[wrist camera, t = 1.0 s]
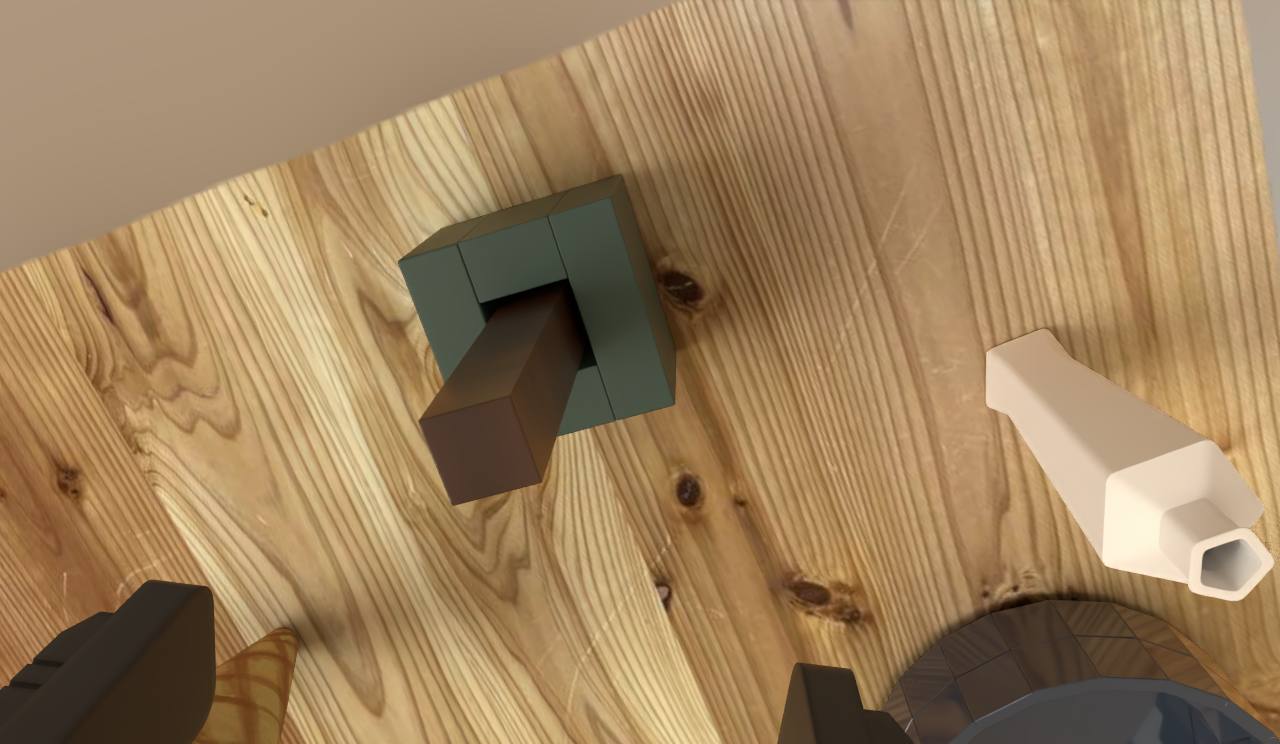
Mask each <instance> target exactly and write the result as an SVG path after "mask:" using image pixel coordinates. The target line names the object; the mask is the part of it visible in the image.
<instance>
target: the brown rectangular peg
mask: <svg viewBox="0 0 1280 744" xmlns="http://www.w3.org/2000/svg"><path fill="white" fill-rule="evenodd" d="M587 340H588V335H587V332H586V329H585V326H584V323H583V320H582V317H581V314H580V311H579V308H578V305H577V302H576V299H575V296H574V293H573V290H572V287H571V284H570V281H569V278H566V279H563V280H560V281H556V282H553V283H549V284H546V285H542V286H539V287H535V288H532V289H529V290H525V291H522V292H518V293H515V294H511V295H508V296H506V297H505V299H504V300H503V301H502V303H501V304H500V306H499V307H498V309H497V310H496V311H495V313H494V314H493V316H492V317H491V318H490V320H489V321H488V323H487V324H486V326H485V327H484V328H483V330H482V331H481V333H480V334H479V336H478V337H477V338H476V340H475V341H474V343H473V344H472V346H471V347H470V348H469V350H468V351H467V353H466V354H465V355H464V357H463V358H462V360H461V361H460V363H459V364H458V365H457V367H456V368H455V370H454V371H453V373H452V374H451V375H450V377H449V378H448V380H447V381H446V382H445V384H444V385H443V387H442V388H441V390H440V391H439V392H438V394H437V395H436V397H435V398H434V400H433V401H432V402H431V404H430V405H429V407H428V408H427V409H426V411H425V412H424V414H423V415H422V417H421V418H420V419H419V425H420V427H421V430H422V432H423V435H424V437H425V439H426V442H427V444H428V447H429V449H430V452H431V454H432V457H433V459H434V462H435V464H436V467H437V469H438V472H439V474H440V477H441V479H442V482H443V484H444V487H445V489H446V491H447V494H448V496H449V499H450V501H451V504H452V506H454V505H458V504H462V503H466V502H470V501H474V500H477V499H481V498H485V497H489V496H493V495H497V494H500V493H504V492H508V491H512V490H516V489H519V488H523V487H527V486H531V485H535V484H539V483H541V482H542V480H543V477H544V474H545V471H546V468H547V465H548V462H549V459H550V456H551V452H552V449H553V446H554V443H555V440H556V437H557V434H558V431H559V428H560V424H561V421H562V418H563V415H564V412H565V409H566V406H567V403H568V400H569V396H570V393H571V390H572V387H573V384H574V381H575V378H576V375H577V372H578V368H579V365H580V362H581V359H582V356H583V353H584V350H585V347H586V344H587Z"/></svg>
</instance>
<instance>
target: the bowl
mask: <svg viewBox="0 0 1280 744" xmlns="http://www.w3.org/2000/svg"><path fill="white" fill-rule="evenodd" d="M882 712H889V714H890V715H891V716H892V717H893V718H894V719H895V721H896V722H897V723H898V724H899V725H900V727H901V728H902V729H903V730H904V731H905V732H906V734H907V735H908V736H909V737H910V738H911V739H912V741H913V743H914V744H1280V741H1279V739H1278V737H1277V736H1276V734H1275V733H1274V732H1273V731H1272V730H1271V728H1270V727H1269V726H1268V725H1267V724H1266V723H1265V721H1264V720H1263V719H1262V718H1261V717H1260V716H1259V714H1258V713H1257V712H1256V711H1255V710H1254V709H1253V708H1252V706H1251V705H1250V704H1249V703H1248V702H1247V701H1246V699H1245V698H1244V697H1243V696H1242V695H1241V694H1240V693H1239V691H1238V690H1237V689H1236V688H1235V687H1234V685H1233V684H1232V683H1231V682H1230V681H1229V680H1228V678H1227V677H1226V676H1225V675H1224V674H1223V673H1222V672H1221V670H1220V669H1219V668H1218V667H1217V666H1216V665H1215V663H1214V662H1213V661H1212V660H1211V659H1210V658H1209V656H1208V655H1207V654H1206V653H1205V652H1204V651H1203V650H1202V649H1200V648H1199V647H1198V646H1197V645H1195V644H1194V643H1193V642H1191V641H1190V640H1189V639H1187V638H1186V637H1185V636H1183V635H1182V634H1181V633H1179V632H1178V631H1177V630H1176V629H1174V628H1173V627H1172V626H1170V625H1169V624H1168V623H1166V622H1165V621H1163V620H1162V619H1159V618H1156V617H1153V616H1150V615H1147V614H1144V613H1141V612H1138V611H1135V610H1132V609H1129V608H1126V607H1123V606H1120V605H1117V604H1114V603H1111V602H1094V601H1069V600H1050V601H1049V600H1046V601H1042V602H1038V603H1033V604H1029V605H1024V606H1020V607H1016V608H1011V609H1007V610H1002V611H998V612H993V613H991V614H990V613H989V614H987V615H985V616H983V617H982V618H980V619H978V620H976V621H974V622H972V623H970V624H968V625H966V626H964V627H963V628H961V629H959V630H957V631H955V632H953V633H951V634H949V635H947V636H945V637H944V638H942V639H940V640H939V641H938V642H936V643H935V644H934V645H933V646H932V647H931V648H930V649H929V650H928V651H927V652H926V653H925V654H924V655H923V656H922V657H921V658H920V659H919V660H918V661H917V662H916V663H915V664H914V665H913V666H911V667H910V668H909V669H908V670H907V671H906V672H905V673H904V674H903V675H902V676H901V677H900V679H899V680H898V681H897V683H896V685H895V687H894V689H893V691H892V693H891V695H890V697H889V698H888V700H887V702H886V704H885V706H884V708H883V710H882Z"/></svg>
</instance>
